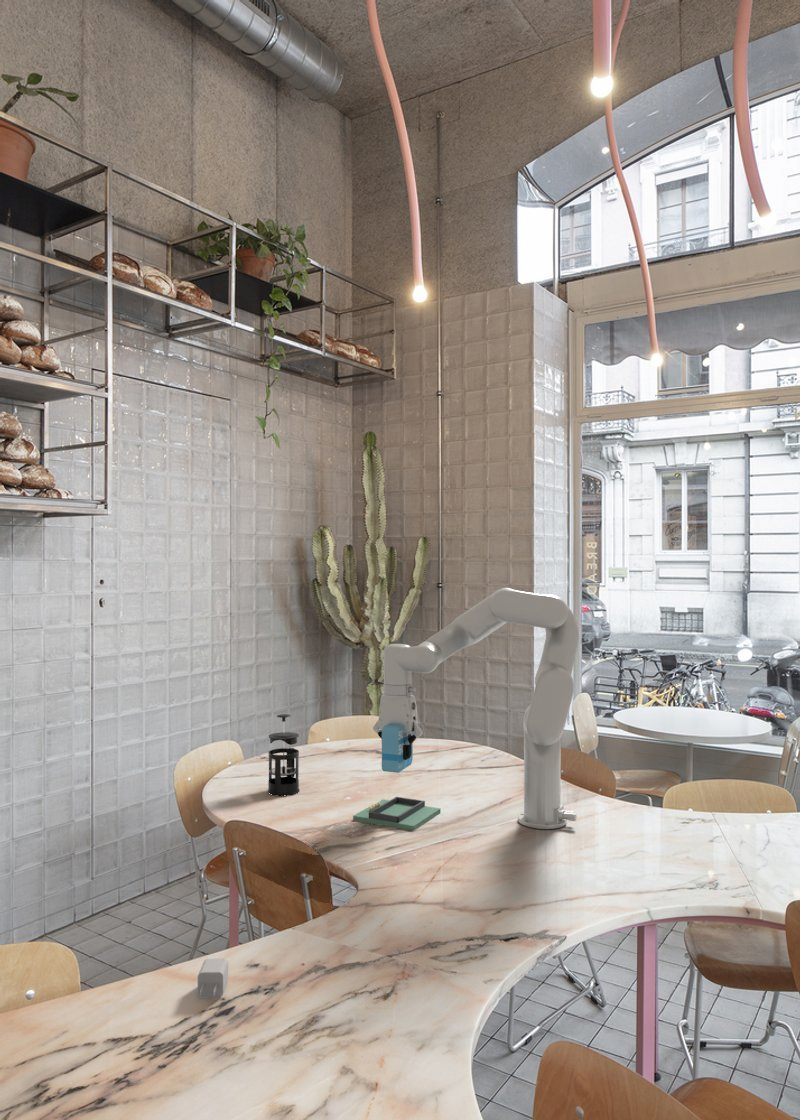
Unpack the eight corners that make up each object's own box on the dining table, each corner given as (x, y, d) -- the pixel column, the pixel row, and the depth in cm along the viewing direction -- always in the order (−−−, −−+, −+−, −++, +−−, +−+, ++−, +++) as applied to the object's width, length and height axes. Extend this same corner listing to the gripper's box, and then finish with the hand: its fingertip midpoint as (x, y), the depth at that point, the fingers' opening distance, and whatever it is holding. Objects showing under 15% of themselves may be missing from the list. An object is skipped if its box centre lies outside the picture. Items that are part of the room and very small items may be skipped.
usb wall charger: (228, 983, 129) (228, 958, 129) (220, 1006, 122) (220, 980, 122) (203, 983, 129) (203, 958, 129) (193, 1007, 122) (193, 981, 122)
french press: (291, 798, 231) (291, 718, 231) (261, 795, 233) (261, 717, 233) (306, 787, 242) (306, 711, 242) (277, 785, 245) (277, 710, 245)
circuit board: (440, 812, 217) (440, 803, 217) (413, 830, 203) (413, 820, 203) (382, 803, 226) (382, 794, 226) (353, 820, 211) (353, 810, 211)
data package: (397, 774, 208) (397, 728, 208) (381, 772, 209) (381, 726, 209) (412, 763, 219) (412, 719, 219) (397, 762, 221) (397, 718, 221)
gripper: (432, 690, 214) (432, 758, 214) (376, 686, 222) (376, 751, 221) (420, 694, 207) (419, 764, 207) (363, 689, 215) (363, 757, 215)
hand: (397, 757), depth 214 cm, fingers closed on data package, 4 cm apart
